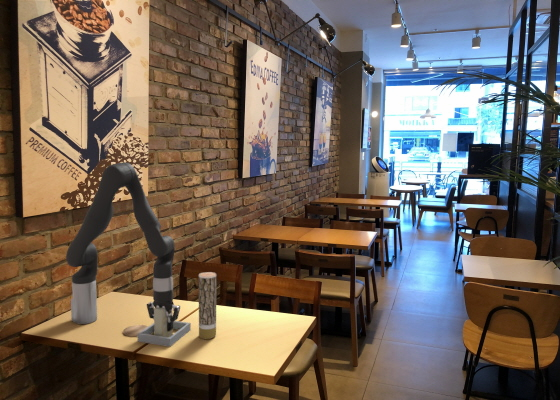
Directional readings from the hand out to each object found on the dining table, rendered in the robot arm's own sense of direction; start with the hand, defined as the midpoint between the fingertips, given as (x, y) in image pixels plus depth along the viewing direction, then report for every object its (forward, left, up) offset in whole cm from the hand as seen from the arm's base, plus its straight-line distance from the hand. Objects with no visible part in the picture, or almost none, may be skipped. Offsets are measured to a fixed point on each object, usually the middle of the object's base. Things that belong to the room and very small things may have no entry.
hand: (163, 329), depth 174 cm
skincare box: (0, 0, -3) cm, 3 cm away
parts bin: (0, +1, -3) cm, 3 cm away
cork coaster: (-13, +1, -3) cm, 13 cm away
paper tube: (+16, +6, -3) cm, 17 cm away
